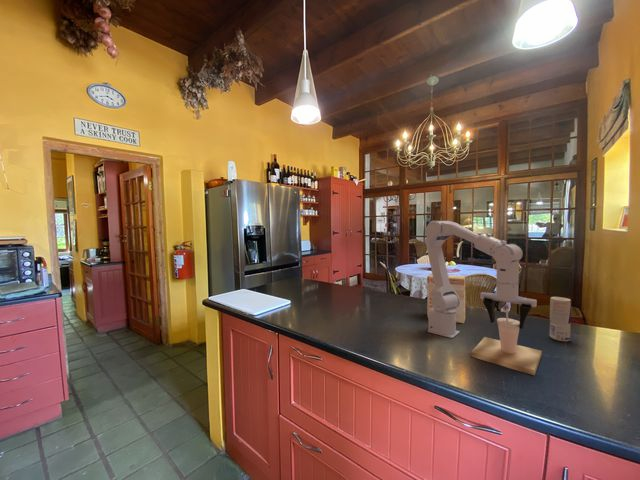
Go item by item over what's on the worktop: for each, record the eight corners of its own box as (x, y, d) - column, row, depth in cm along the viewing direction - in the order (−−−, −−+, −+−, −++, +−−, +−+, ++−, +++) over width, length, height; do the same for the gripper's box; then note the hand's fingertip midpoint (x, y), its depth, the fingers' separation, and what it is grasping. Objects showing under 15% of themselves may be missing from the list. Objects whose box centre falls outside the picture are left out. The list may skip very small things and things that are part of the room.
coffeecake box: (465, 318, 120) (465, 275, 119) (464, 323, 114) (464, 278, 113) (430, 313, 128) (429, 273, 127) (427, 318, 122) (427, 275, 121)
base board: (470, 356, 85) (470, 351, 85) (484, 340, 97) (484, 336, 97) (534, 375, 74) (534, 370, 74) (541, 355, 85) (541, 350, 85)
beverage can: (574, 342, 94) (575, 300, 93) (555, 341, 95) (556, 300, 94) (563, 336, 99) (564, 296, 99) (545, 335, 100) (546, 296, 100)
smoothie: (491, 346, 89) (492, 305, 88) (508, 345, 89) (509, 304, 89) (507, 356, 82) (508, 311, 82) (526, 354, 83) (526, 310, 82)
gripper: (538, 283, 82) (537, 327, 83) (484, 277, 92) (484, 316, 93) (535, 287, 77) (534, 333, 78) (478, 280, 87) (478, 321, 88)
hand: (506, 324), depth 85 cm, fingers open, 7 cm apart
